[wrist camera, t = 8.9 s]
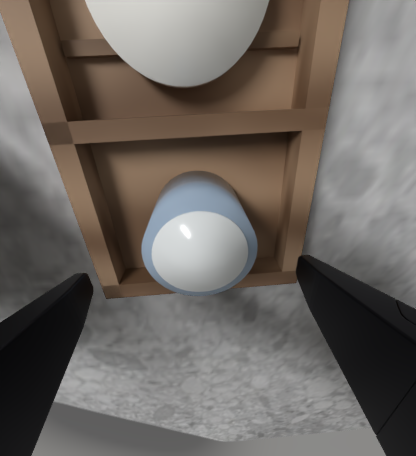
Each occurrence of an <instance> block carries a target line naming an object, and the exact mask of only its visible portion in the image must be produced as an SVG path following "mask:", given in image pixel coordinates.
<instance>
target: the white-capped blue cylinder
mask: <svg viewBox="0 0 416 456" xmlns="http://www.w3.org/2000/svg"><path fill="white" fill-rule="evenodd" d="M256 256H257V238H256V235H255V232H254V230H253V228H252V226H251V224H250V222H249V220H248V218H247V216H246V214H245V212H244V210H243V208H242V206H241V204H240V202H239V199H238V197H237V195H236V194H235V192H234V190H233V188H232V187H231V185H230V184H229V183H228V182H227V181H226V180H224V179H223V178H222V177H220V176H218V175H216V174H214V173H211V172H207V171H188V172H185V173H182V174H179V175H177V176H176V177H174V178H173V179H171V180H170V181H169V182H168V183H167V184H166V185H165V186H164V187H163V189H162V190H161V192H160V194H159V197H158V200H157V202H156V205H155V208H154V210H153V213H152V215H151V218H150V221H149V223H148V226H147V229H146V231H145V234H144V237H143V241H142V258H143V262H144V265H145V267H146V269H147V270H148V272H149V273H150V275H151V276H152V277H153V278H154V279H155V280H156V281H157V282H158V283H159V284H161V285H162V286H164V287H165V288H167V289H169V290H171V291H174V292H176V293H180V294H184V295H190V296H206V295H212V294H217V293H220V292H223V291H225V290H227V289H229V288H231V287H233V286H235V285H236V284H237V283H239V282H240V281H241V280H242V279H243V278H244V277H245V276H246V275H247V274H248V273H249V271H250V270H251V268H252V266H253V264H254V262H255V259H256Z"/></svg>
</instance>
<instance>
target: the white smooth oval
mask: <svg viewBox="0 0 416 456" xmlns="http://www.w3.org/2000/svg"><path fill="white" fill-rule="evenodd" d="M85 2H86V4H87V7H88V9H89V11H90V13H91V15H92V17H93V19H94V21H95V23H96V25H97V27H98V28H99V30H100V32H101V33H102V35H103V36H104V38H105V39H106V40H107V42H108V43H109V44H110V46H111V47H112V48H113V49H114V51H115V52H116V53H117V54H118V55H119V56H120V57H121V58H122V59H123V60H124V61H125V62H126V63H128V64H129V65H130V66H131V67H132V68H134V69H135V70H136V71H138V72H139V73H141V74H142V75H144V76H145V77H147V78H148V79H150V80H152V81H154V82H156V83H159V84H162V85H165V86H168V87H174V88H193V87H199V86H202V85H205V84H208V83H210V82H212V81H214V80H216V79H217V78H219V77H220V76H222V75H223V74H225V73H226V72H227V71H228V70H229V69H230V68H232V66H233V65H234V64H235V63H236V62H237V61H238V60H239V59H240V58H241V56H242V55H243V54H244V53H245V52H246V50H247V49H248V47H249V46H250V44H251V43H252V41H253V39H254V38H255V36H256V34H257V32H258V30H259V28H260V25H261V23H262V21H263V18H264V16H265V12H266V9H267V6H268V2H269V0H85Z"/></svg>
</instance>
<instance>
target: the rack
mask: <svg viewBox="0 0 416 456" xmlns="http://www.w3.org/2000/svg"><path fill="white" fill-rule="evenodd" d="M348 4H349V0H269V2H268V6H267V9H266V12H265V16H264V18H263V21H262V23H261V25H260V28H259V30H258V32H257V34H256V36H255V38H254V39H253V41H252V43H251V44H250V46H249V47H248V49H247V50H246V52H245V53H244V54H243V55H242V56H241V58H240V59H239V60H238V61H237V62H236V63H235V64H234V65H233V66H232V68H230V69H229V70H228V71H227V72H226V73H225V74H223V75H222V76H220V77H219V78H217V79H216V80H214V81H212V82H210V83H208V84H205V85H202V86H199V87H193V88H174V87H168V86H165V85H162V84H159V83H156V82H154V81H152V80H150V79H148V78H147V77H145V76H144V75H142V74H141V73H139V72H138V71H136V70H135V69H134V68H132V67H131V66H130V65H129V64H128V63H126V62H125V61H124V60H123V59H122V58H121V57H120V56H119V55H118V54H117V53H116V52H115V51H114V49H113V48H112V47H111V46H110V44H109V43H108V42H107V40H106V39H105V38H104V36H103V35H102V33H101V32H100V30H99V28H98V27H97V25H96V23H95V21H94V19H93V17H92V15H91V13H90V11H89V9H88V7H87V4H86V2H85V0H0V13H1V15H2V18H3V21H4V23H5V26H6V29H7V32H8V34H9V37H10V40H11V42H12V45H13V48H14V51H15V53H16V56H17V59H18V61H19V64H20V67H21V69H22V72H23V75H24V78H25V80H26V83H27V86H28V88H29V91H30V94H31V97H32V99H33V102H34V105H35V107H36V110H37V113H38V116H39V118H40V121H41V124H42V126H43V129H44V132H45V135H46V137H47V140H48V143H49V145H50V148H51V151H52V154H53V156H54V159H55V162H56V164H57V167H58V170H59V172H60V175H61V178H62V181H63V183H64V186H65V189H66V191H67V194H68V197H69V200H70V202H71V205H72V208H73V210H74V213H75V216H76V219H77V221H78V224H79V227H80V229H81V232H82V235H83V238H84V240H85V243H86V246H87V248H88V251H89V254H90V257H91V259H92V262H93V265H94V267H95V270H96V273H97V275H98V278H99V281H100V284H101V286H102V289H103V292H104V294H105V297H106V299H111V298H123V297H135V296H147V295H159V294H171V293H176V292H174V291H171V290H169V289H167V288H165V287H164V286H162V285H161V284H159V283H158V282H157V281H156V280H155V279H154V278H153V277H152V276H151V275H150V273H149V272H148V270H147V269H146V267H145V265H144V262H143V258H142V241H143V237H144V234H145V231H146V229H147V226H148V223H149V221H150V218H151V215H152V213H153V210H154V208H155V205H156V202H157V200H158V197H159V194H160V192H161V190H162V189H163V187H164V186H165V185H166V184H167V183H168V182H169V181H170V180H171V179H173V178H174V177H176V176H177V175H179V174H182V173H185V172H188V171H207V172H211V173H214V174H216V175H218V176H220V177H222V178H223V179H224V180H226V181H227V182H228V183H229V184H230V185H231V187H232V188H233V190H234V192H235V194H236V195H237V197H238V199H239V202H240V204H241V206H242V208H243V210H244V212H245V214H246V216H247V218H248V220H249V222H250V224H251V226H252V228H253V230H254V232H255V235H256V238H257V256H256V259H255V262H254V264H253V266H252V268H251V270H250V271H249V273H248V274H247V275H246V276H245V277H244V278H243V279H242V280H241V281H240V282H239V283H237V284H236V285H235V286H233V287H231V288H242V287H254V286H266V285H278V284H290V283H296V282H297V276H296V266H297V261H298V257H299V256H301V255H302V250H303V244H304V239H305V234H306V228H307V223H308V218H309V212H310V207H311V202H312V196H313V191H314V186H315V180H316V175H317V169H318V164H319V159H320V153H321V148H322V143H323V137H324V132H325V127H326V121H327V116H328V111H329V105H330V100H331V95H332V89H333V84H334V79H335V73H336V68H337V63H338V57H339V52H340V47H341V41H342V36H343V31H344V25H345V20H346V14H347V9H348ZM229 289H230V288H229Z"/></svg>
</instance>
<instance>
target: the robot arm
mask: <svg viewBox="0 0 416 456" xmlns="http://www.w3.org/2000/svg"><path fill="white" fill-rule="evenodd" d="M296 276H297V279H298V281H299V284H300V287H301V289H302V292H303V294H304V297H305V299H306V302H307V304H308V307H309V309H310V311H311V313H312V315H313V317H314V318H315V320H316V322H317V324H318V326H319V328H320V330H321V332H322V334H323V336H324V337H325V339H326V341H327V343H328V345H329V347H330V349H331V351H332V353H333V355H334V357H335V358H336V360H337V362H338V364H339V366H340V368H341V370H342V372H343V374H344V376H345V378H346V379H347V381H348V383H349V385H350V387H351V389H352V391H353V393H354V395H355V397H356V398H357V400H358V402H359V404H360V406H361V408H362V410H363V412H364V414H365V416H366V418H367V419H368V421H369V423H370V425H371V427H372V429H373V431H374V433H375V434H376V435H377V436H376V437H377V439H378V441H379V443H380V445H381V446H382V448H383V450H384V452H385V454H386V456H416V309H414V308H412V307H410V306H408V305H406V304H404V303H402V302H400V301H399V300H395V299H394V298H393V297H391V296H389V295H387V294H385V293H383V292H381V291H379V290H377V289H375V288H373V287H371V286H369V285H367V284H365V283H363V282H361V281H359V280H357V279H355V278H353V277H351V276H349V275H347V274H345V273H343V272H341V271H339V270H338V269H336V268H334V267H332V266H330V265H328V264H326V263H324V262H322V261H320V260H318V259H316V258H314V257H312V256H310V255H301V256H299V257H298V261H297V266H296ZM92 296H93V286H92V283H91V281H90V278H89V276H88V274H87V273H77V274H75V275H73V276H71V277H70V278H68V279H67V280H65V281H64V282H62V283H61V284H59V285H57V286H56V287H54V288H53V289H51V290H50V291H48V292H47V293H45V294H44V295H42V296H40V297H39V298H37V299H36V300H34V301H33V302H31V303H30V304H28V305H27V306H25V307H23V308H22V309H20V310H19V311H17V312H16V313H14V314H13V315H11V316H10V317H8V318H6V319H5V320H3V321H2V322H0V456H31V455H32V453H33V450H34V448H35V445H36V443H37V440H38V438H39V436H40V433H41V430H42V428H43V426H44V423H45V421H46V418H47V416H48V413H49V411H50V408H51V405H52V403H53V401H54V399H55V396H56V394H57V391H58V389H59V386H60V384H61V381H62V379H63V376H64V374H65V371H66V369H67V366H68V364H69V362H70V359H71V357H72V354H73V352H74V349H75V347H76V344H77V342H78V339H79V337H80V334H81V332H82V329H83V327H84V323H85V320H86V317H87V313H88V310H89V306H90V303H91V299H92Z"/></svg>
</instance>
